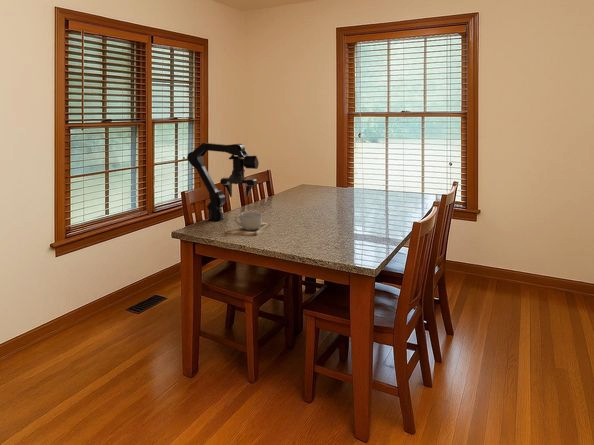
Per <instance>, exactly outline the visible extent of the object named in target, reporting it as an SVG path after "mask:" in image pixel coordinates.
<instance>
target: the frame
mask: <svg viewBox="0 0 594 445" xmlns="http://www.w3.org/2000/svg"><path fill="white" fill-rule="evenodd" d="M239 223H241V221H239ZM270 226H271V223H270V222H268V223H267V222H261V226H260V227H261V228H258V229H257V230H255V231H245V230H243V231H242V230H231V229H230V230H229V229H225V230H224V233H225V234H233V235H245V236H246V235H248V236H258V235H260V234H261V233H262V232H264V231H265V230H267V229H268V228H269V227H270Z"/></svg>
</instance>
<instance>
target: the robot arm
mask: <svg viewBox="0 0 594 445" xmlns="http://www.w3.org/2000/svg"><path fill="white" fill-rule="evenodd" d="M211 151H212V152H218V153H219V152H220V153H221V152H222V153H227V154H229V155H230V157H228V160H232V171H231V174H230V176H229V177H222V178H221V179H220V181H219V182H220V184H221V185H222V186H223V187H225V188H226V190H227V192H228V195H229V198H232V197H233V185H238V184H246V185H245V187H246V193H245V196H246V199H248V198H249V196H250V193H251V191H252V189H253V187H255V186H256V185H258V180H257V178H248V179H246V177H245V171H246V170H245V169H251V170H253V169H255V170H257V169H258V168H259V158H258V156H257V155H249V153H248V152H247V151H246V147H245V145H244V144H243V143H235V144H222V143H220V144H218V143H211V142H210V143H209V142H202V143H200V145H199V146H197V147H196V148H195V149H194V150H192V151H191V152H188V153H187V156H186V158H187V161H188V162H189V164H190V165H191V166H192V167H193V168H194V169H196V171H197V173H198V175H199V177H200V179H201V181H202V182H203V184H204V187H205V188H206V190H207V192H208V196H209V203H208V204H207V205H206V208H207V210H208V219H207V221H211V222H212V221H213V222H219V221H222V220H223V219H224V216H223V211H222V210H223V209H222V208H223V206H224V205H225V203H226V201H227V200H226V195H225V194H224V191H223V190H222V189H221V190H219V189H218V188H217V186H216V185H215V183H214V181H213V179H212V177H211V175H210V173H209V172H208V170H207V167H206V166H205V159H204V156H205V155H206V153H208V152H211Z"/></svg>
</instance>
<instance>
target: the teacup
mask: <svg viewBox="0 0 594 445" xmlns="http://www.w3.org/2000/svg"><path fill="white" fill-rule="evenodd" d="M238 218H239V219H240V220H239V221H238ZM262 218H263V214H262V212H258V211H249V210H248V211H243V212H240V214H239V215H236V216H234V218H233V219H234V222H235V223H236V224H237V225H239V226H240V227H242V228H243V229H244V231H245V230H246V231H258V230H259V229H260V227H262V226H261V223H263V222H262ZM240 222H241V223H240Z"/></svg>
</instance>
